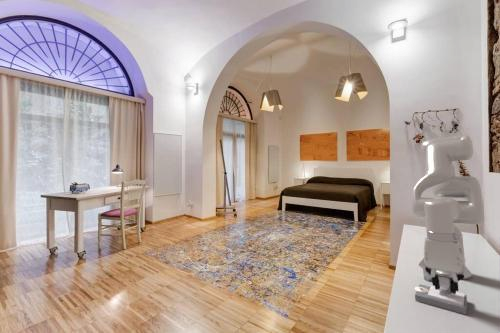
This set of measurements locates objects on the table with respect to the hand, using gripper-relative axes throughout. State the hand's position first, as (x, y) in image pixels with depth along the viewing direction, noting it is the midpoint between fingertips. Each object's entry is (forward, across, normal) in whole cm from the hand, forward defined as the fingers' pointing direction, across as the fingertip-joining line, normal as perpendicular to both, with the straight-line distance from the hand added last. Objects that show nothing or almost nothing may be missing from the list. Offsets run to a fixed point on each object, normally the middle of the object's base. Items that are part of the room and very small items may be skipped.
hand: (445, 289), depth 78 cm
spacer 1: (+4, +6, -17) cm, 19 cm away
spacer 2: (0, 0, 0) cm, 0 cm away
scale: (+4, +2, 0) cm, 4 cm away
